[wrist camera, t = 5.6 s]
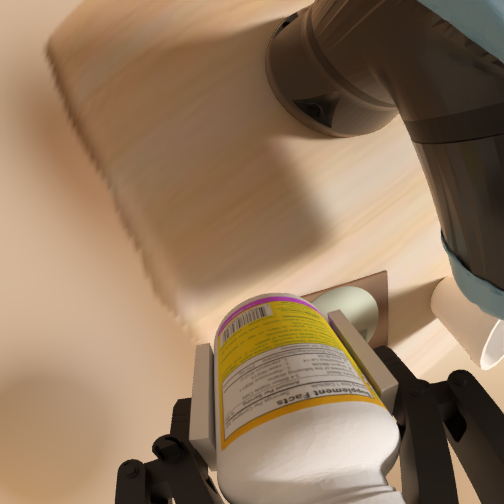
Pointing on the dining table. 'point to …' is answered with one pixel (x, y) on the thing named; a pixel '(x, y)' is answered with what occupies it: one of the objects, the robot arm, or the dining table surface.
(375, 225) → the dining table surface
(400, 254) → the dining table surface
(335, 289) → the keyhole board
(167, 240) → the dining table surface
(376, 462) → the supplement bottle
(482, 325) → the foam cup
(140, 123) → the dining table surface
